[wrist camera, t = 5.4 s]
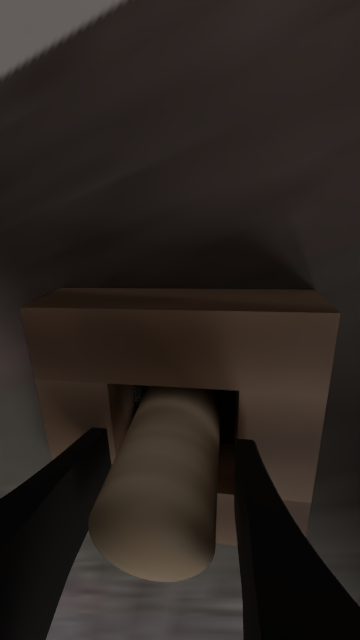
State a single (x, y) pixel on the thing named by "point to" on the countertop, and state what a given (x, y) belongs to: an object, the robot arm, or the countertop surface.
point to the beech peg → (163, 488)
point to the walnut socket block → (191, 371)
